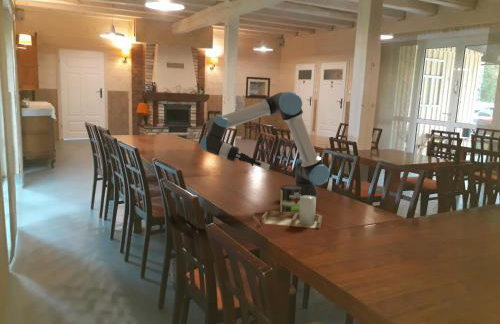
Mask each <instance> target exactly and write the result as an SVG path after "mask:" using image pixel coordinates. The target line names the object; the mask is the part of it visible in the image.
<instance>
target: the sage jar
mask: <svg viewBox="0 0 500 324" xmlns="http://www.w3.org/2000/svg"><path fill="white" fill-rule="evenodd" d="M316 203H317V198H316V197H314V196H308V195H304V196H300V212H299V224H301V225H306V226H311V225H314V224H315V214H316V209H317V208H316Z"/></svg>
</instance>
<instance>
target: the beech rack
mask: <svg viewBox="0 0 500 324" xmlns="http://www.w3.org/2000/svg"><path fill="white" fill-rule="evenodd" d="M260 219H261V221H260V226H262V227H264V224H266V225H278V226H289V227H290V226H291V227H300V228H313V229H321V226H322V225H321V224H322V222H323V221H322V219H323V215H322V214H316V213H315V224H314V225H311V226H306V225H301V224H299V213H293V212H280V210H279V211H278V210H266V211H265V212H264V213H263V215H262V216H261V218H260Z"/></svg>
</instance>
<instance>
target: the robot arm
mask: <svg viewBox="0 0 500 324" xmlns="http://www.w3.org/2000/svg"><path fill="white" fill-rule="evenodd" d="M273 115H280V117H281V119H282V122H285V123H286V124H287V127H288V129H289V131H290V134H291V137H292V139H293V142H294V144H295V147H296V149H297V152H298V154H299V156H300V158H297V159H296V160H295V174H294V175H295V177H294V185H295V186H300V187H302V189H301V196H304V195H308V196H314V197H316V199H317V198H318V192H317V187H316V186H322V185H323V184H325V183H326V182H327V181H328V179H329V178H330V169H329V168H328V167H327V165H325V164H324V163H323V159H322V157H321V156H319V155H318V154H317V152H316V149H315V147H314V145H313V142H312V140H311V137H310V134H309V132H308V130H307V127H306V125H305V122H304V119H303V116H302V115H304V112H303V100H302V98H301V96H300V95H299V94H297V93H296V92H293V91H286V92H285V91H284V92H278V93H276V94H273V95H272V96H269V97H267V98H264V99H262V101H261V102H258V103H255V104H251V105H249V106H247V107H244V108H241V109H238V110H236V111H232V112H229V113H226V114H223V115H219V114H216V115H215V116H214V118H211V119H208V120H207V122H206V125H205V128H206V130H207V131H208V134H207V135H205V134H204V135H203V136H202V138H201V139H200V143H199V148H200V149H201V150H202V151H205V152H208V153H210V154H212V155H216V156H218V157H220V159H226V160H228V161H231V162H235V161H236V160H237V159H238V161H240V162H245V163H248V164H250V166H252V167H254V166H255V167H258V168H261V169H264V170H270V167H271V164H269V163H267V162H264V161H261V160H260V158H257V159H255V158H253V157H250V156H249V155H247V154H245V153H244V152H241V153H239V152H240V148H239V147H238V146H235V145H232V144H231V143H230V144H229V143H227V142H225V141H223V138H224V135H225V133H226V130H228V129H231V128H233V127H236V126H238V125H241V124H245V123H247V122H251V121H253V120H256V119H258V118H262V117H264V116H267V117H268V116H273Z"/></svg>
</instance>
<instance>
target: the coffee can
mask: <svg viewBox="0 0 500 324" xmlns="http://www.w3.org/2000/svg"><path fill="white" fill-rule="evenodd" d="M301 189H302V187H300V186H295V184H286V185H285V184H284V185H281V186H280V198H279V199H280V204H279V205H280V206H279V211H280V212H293V213H299V212H300V196H301Z"/></svg>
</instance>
